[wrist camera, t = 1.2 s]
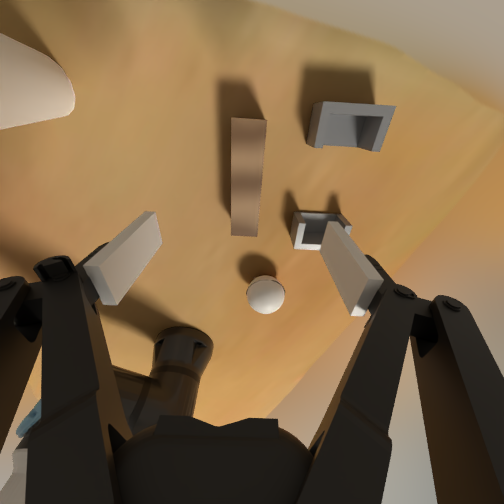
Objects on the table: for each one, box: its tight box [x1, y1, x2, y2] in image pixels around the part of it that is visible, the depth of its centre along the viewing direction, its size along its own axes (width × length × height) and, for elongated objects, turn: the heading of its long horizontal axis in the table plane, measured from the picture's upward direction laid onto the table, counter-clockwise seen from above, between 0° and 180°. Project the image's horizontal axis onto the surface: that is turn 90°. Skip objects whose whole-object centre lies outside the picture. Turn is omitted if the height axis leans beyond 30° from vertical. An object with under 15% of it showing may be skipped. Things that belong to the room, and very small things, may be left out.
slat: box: [231, 117, 267, 237], centre depth 29 cm, size 15×4×5 cm, turn 177°
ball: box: [246, 275, 285, 314], centre depth 38 cm, size 10×7×7 cm
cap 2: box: [290, 212, 352, 250], centre depth 33 cm, size 4×8×4 cm, turn 87°
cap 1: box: [306, 101, 396, 152], centre depth 25 cm, size 4×8×4 cm, turn 87°
